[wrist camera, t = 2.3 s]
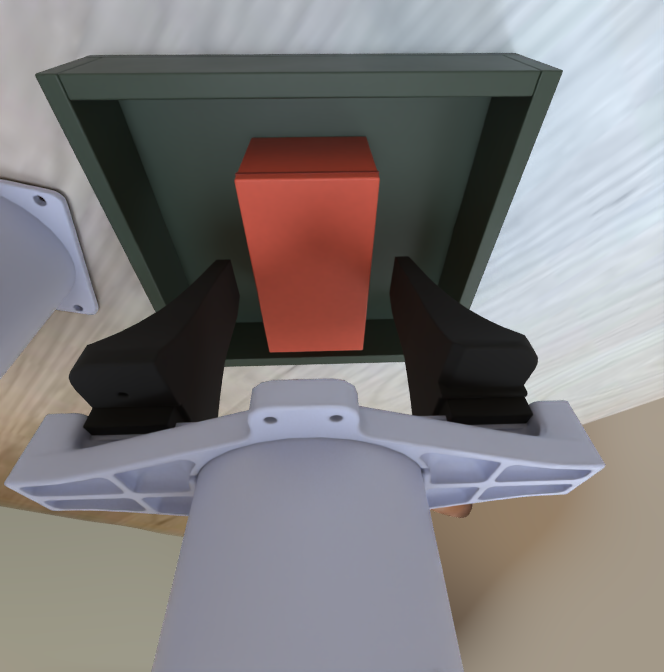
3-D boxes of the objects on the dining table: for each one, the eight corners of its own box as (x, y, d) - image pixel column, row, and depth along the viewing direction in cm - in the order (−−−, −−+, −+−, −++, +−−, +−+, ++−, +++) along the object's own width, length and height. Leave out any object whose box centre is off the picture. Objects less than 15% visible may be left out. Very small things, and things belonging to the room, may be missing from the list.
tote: (198, 325, 23) (183, 368, 21) (88, 55, 13) (32, 73, 10) (434, 320, 24) (449, 361, 21) (515, 52, 13) (564, 70, 11)
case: (275, 298, 21) (269, 353, 18) (250, 136, 15) (232, 179, 11) (356, 296, 21) (363, 350, 18) (367, 135, 15) (381, 176, 12)
